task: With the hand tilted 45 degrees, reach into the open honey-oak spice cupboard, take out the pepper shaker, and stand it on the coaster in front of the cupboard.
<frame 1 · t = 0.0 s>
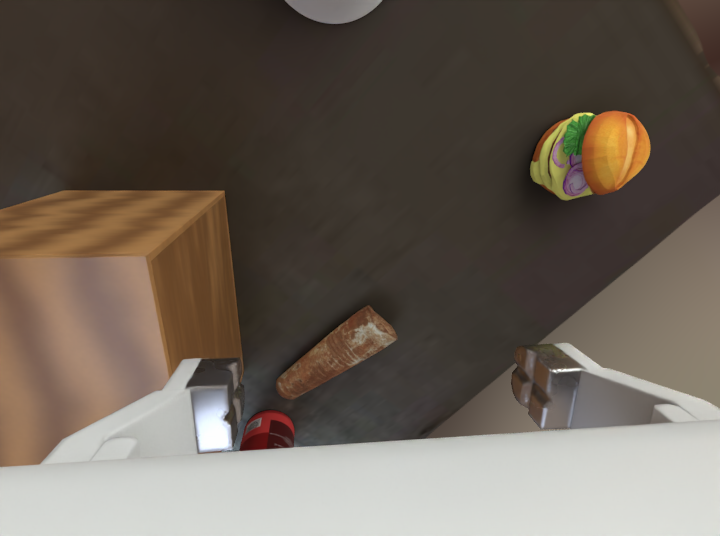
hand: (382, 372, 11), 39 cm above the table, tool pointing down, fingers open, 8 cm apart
cupboard: (164, 291, 50), on the table
bread: (333, 348, 57), on the table
canned food: (270, 427, 61), on the table
cheeseburger: (567, 152, 49), on the table
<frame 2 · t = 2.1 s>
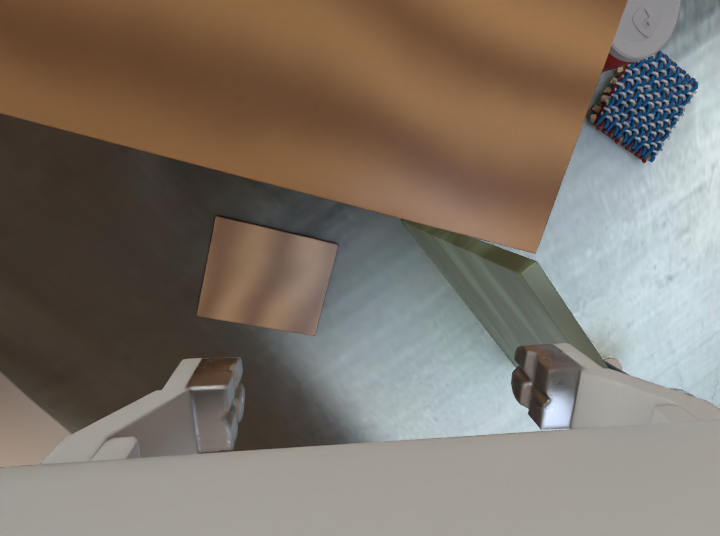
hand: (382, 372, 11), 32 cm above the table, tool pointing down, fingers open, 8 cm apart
woven mat: (635, 103, 46), on the table
cupboard: (311, 89, 39), on the table
cupboard door: (543, 318, 37), point 12 cm above the table, hinge at 145.0°
coaster: (268, 278, 42), on the table
canned food: (551, 47, 42), on the table
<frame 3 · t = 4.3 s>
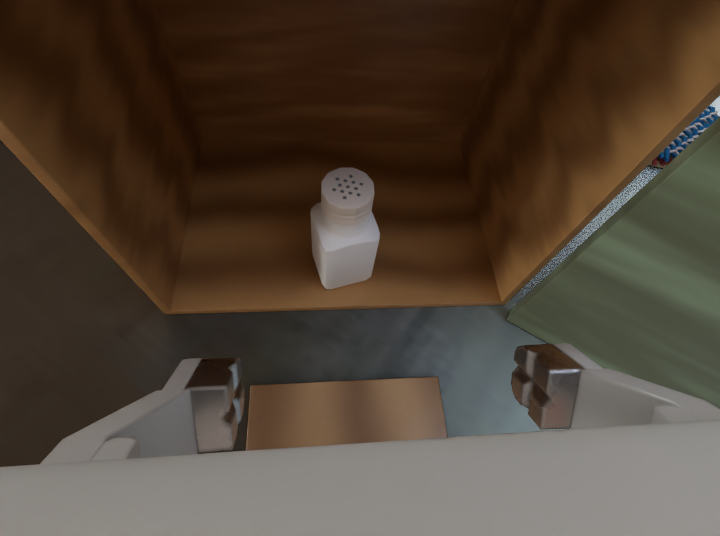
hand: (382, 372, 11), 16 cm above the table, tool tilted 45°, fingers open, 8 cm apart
woven mat: (668, 142, 43), on the table
cupboard: (338, 215, 34), on the table
coaster: (350, 470, 25), on the table
pepper shaker: (341, 267, 31), resting on cupboard
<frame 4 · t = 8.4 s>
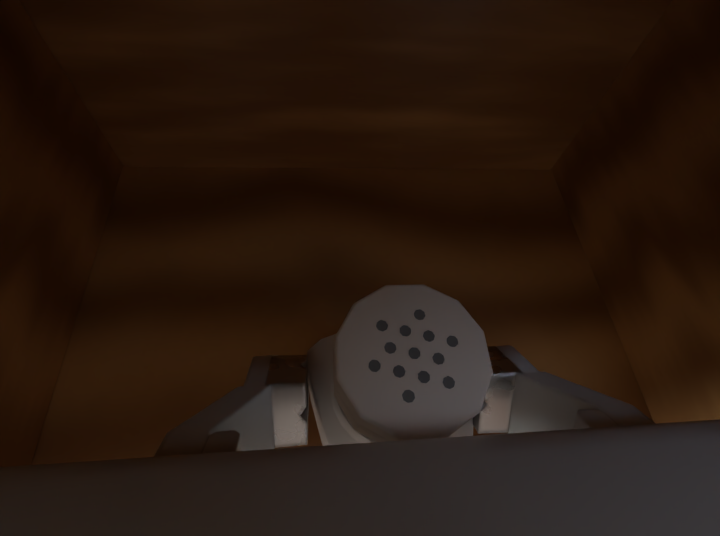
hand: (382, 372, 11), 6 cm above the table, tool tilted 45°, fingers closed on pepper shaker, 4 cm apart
cupboard: (357, 304, 19), on the table
pepper shaker: (366, 422, 16), resting on cupboard, touching gripper
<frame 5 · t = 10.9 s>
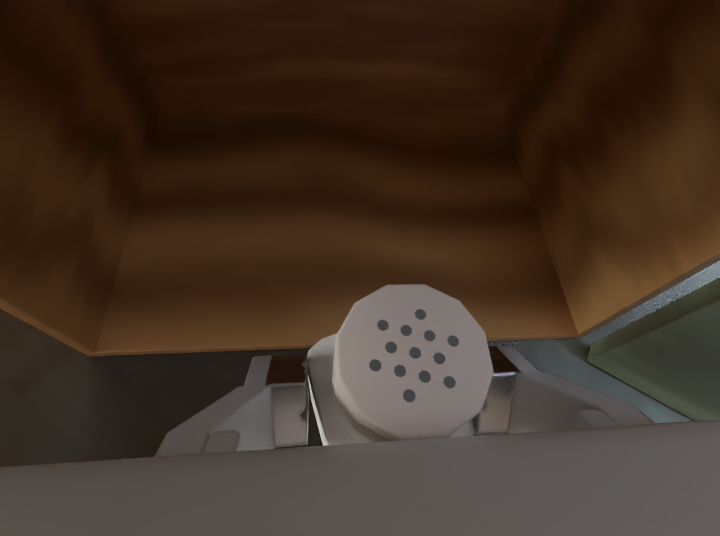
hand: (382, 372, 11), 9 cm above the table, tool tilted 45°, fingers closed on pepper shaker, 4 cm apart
cupboard: (343, 210, 25), on the table
pepper shaker: (367, 422, 16), point 3 cm above the table, touching gripper
when the fingers open (6 cm above the table, at t = 13.7 s): pepper shaker stays where it is, resting on coaster.
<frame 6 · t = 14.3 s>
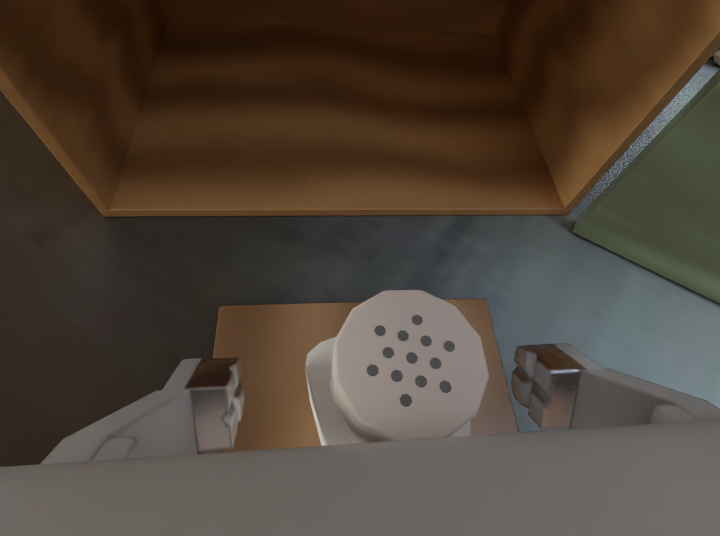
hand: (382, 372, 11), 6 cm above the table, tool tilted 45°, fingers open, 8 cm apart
cupboard: (343, 108, 26), on the table
coaster: (364, 424, 16), on the table
pepper shaker: (365, 424, 16), resting on coaster
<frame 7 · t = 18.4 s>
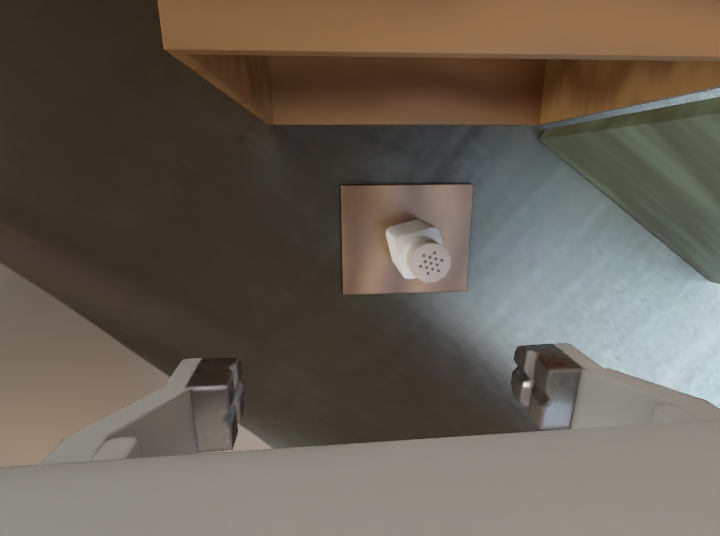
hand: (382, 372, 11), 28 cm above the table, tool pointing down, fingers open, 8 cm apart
cupboard: (410, 17, 34), on the table
coaster: (406, 239, 39), on the table
pepper shaker: (406, 240, 39), resting on coaster
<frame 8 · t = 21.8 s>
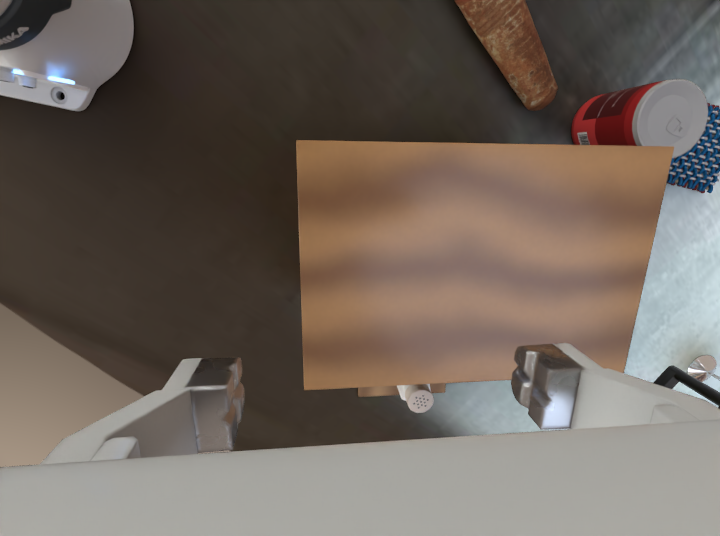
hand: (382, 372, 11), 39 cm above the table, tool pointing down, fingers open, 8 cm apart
woven mat: (684, 145, 52), on the table
cupboard: (409, 222, 50), on the table
bread: (501, 35, 46), on the table
wineglass: (700, 368, 62), on the table
cupboard door: (634, 363, 46), point 12 cm above the table, hinge at 145.0°
coaster: (403, 359, 56), on the table
canned food: (596, 128, 50), on the table
pepper shaker: (403, 360, 56), resting on coaster
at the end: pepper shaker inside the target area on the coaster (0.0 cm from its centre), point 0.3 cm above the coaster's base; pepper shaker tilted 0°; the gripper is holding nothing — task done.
